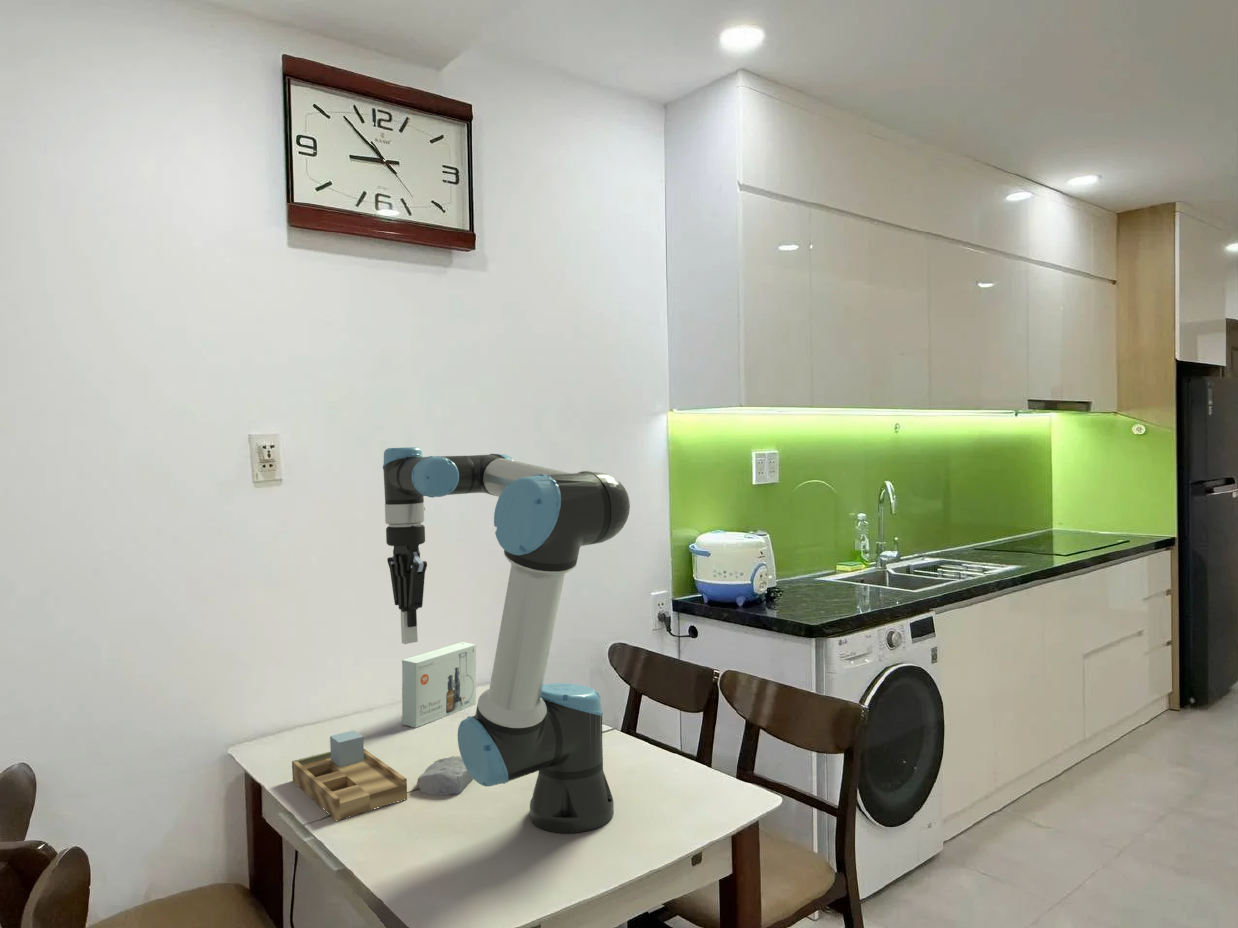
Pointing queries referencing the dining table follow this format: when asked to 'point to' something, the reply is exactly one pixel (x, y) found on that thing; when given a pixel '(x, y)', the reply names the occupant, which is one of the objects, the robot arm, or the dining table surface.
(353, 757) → the block
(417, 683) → the skincare box
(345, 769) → the trap box
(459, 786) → the stone block
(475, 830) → the dining table surface
